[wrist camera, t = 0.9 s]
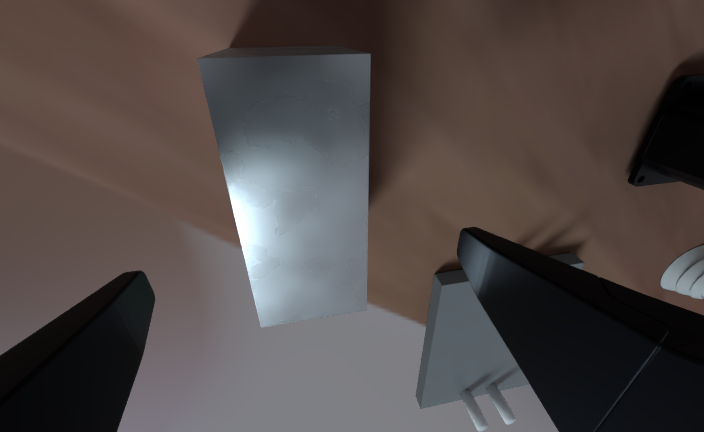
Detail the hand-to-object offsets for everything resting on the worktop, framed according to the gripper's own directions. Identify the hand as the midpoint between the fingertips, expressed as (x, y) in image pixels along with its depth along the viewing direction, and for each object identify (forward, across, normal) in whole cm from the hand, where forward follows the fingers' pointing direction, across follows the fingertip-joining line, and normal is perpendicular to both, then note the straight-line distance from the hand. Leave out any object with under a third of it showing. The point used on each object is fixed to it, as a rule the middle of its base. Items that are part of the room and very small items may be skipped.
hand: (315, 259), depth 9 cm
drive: (+8, 0, 0) cm, 8 cm away
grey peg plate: (+8, -14, +16) cm, 23 cm away
